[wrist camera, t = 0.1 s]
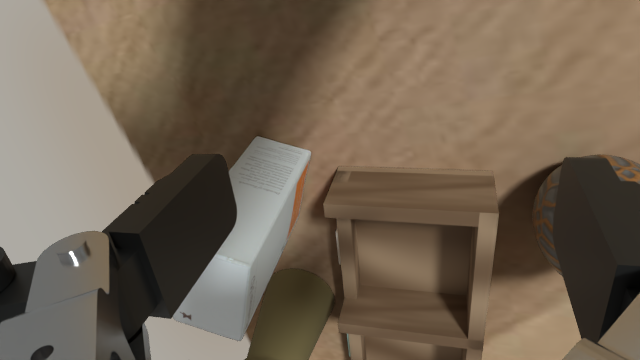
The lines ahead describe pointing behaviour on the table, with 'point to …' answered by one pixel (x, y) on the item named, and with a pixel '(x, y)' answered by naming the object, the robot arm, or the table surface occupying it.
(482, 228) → the slot rack
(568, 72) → the table surface
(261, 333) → the cork
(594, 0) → the table surface
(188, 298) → the skincare box
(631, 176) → the vase
